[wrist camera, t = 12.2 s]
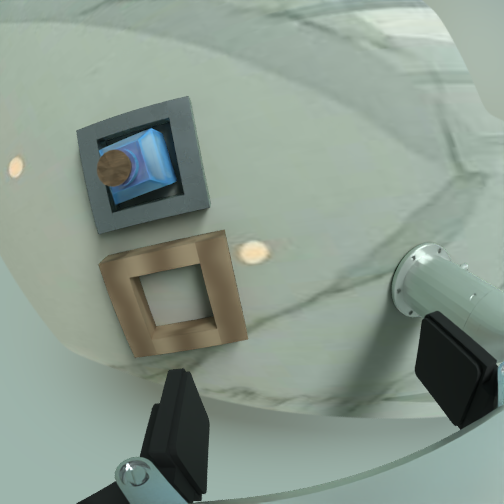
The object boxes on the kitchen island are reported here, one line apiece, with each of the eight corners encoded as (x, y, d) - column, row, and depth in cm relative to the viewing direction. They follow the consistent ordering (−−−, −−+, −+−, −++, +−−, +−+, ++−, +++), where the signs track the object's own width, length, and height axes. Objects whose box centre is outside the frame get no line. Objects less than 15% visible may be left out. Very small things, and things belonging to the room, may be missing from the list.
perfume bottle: (131, 197, 34) (94, 214, 23) (117, 151, 33) (74, 149, 21) (177, 181, 35) (157, 189, 23) (162, 133, 33) (136, 120, 21)
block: (190, 101, 32) (188, 96, 29) (210, 203, 36) (210, 207, 33) (86, 132, 31) (76, 130, 28) (106, 228, 35) (98, 234, 32)
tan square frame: (224, 229, 37) (225, 236, 34) (245, 325, 41) (248, 339, 38) (107, 255, 36) (98, 264, 33) (140, 343, 40) (135, 357, 37)
